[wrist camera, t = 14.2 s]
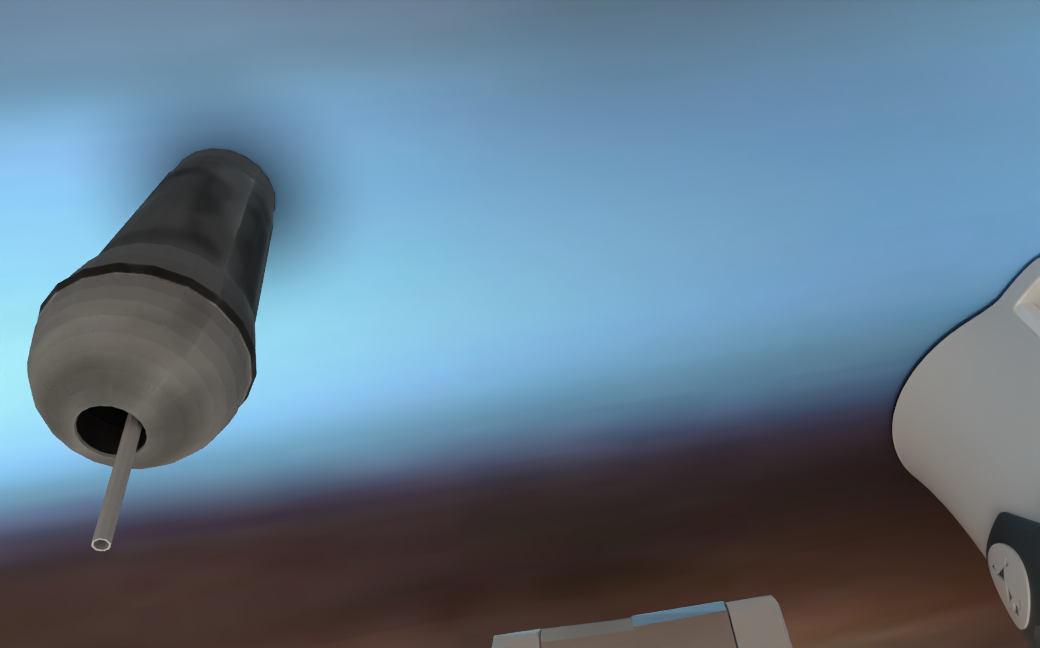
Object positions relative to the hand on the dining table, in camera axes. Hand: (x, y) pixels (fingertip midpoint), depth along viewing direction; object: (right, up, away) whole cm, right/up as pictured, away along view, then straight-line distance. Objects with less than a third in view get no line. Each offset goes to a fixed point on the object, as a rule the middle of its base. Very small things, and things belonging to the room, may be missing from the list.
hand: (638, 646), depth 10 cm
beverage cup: (-14, +9, +31) cm, 36 cm away
